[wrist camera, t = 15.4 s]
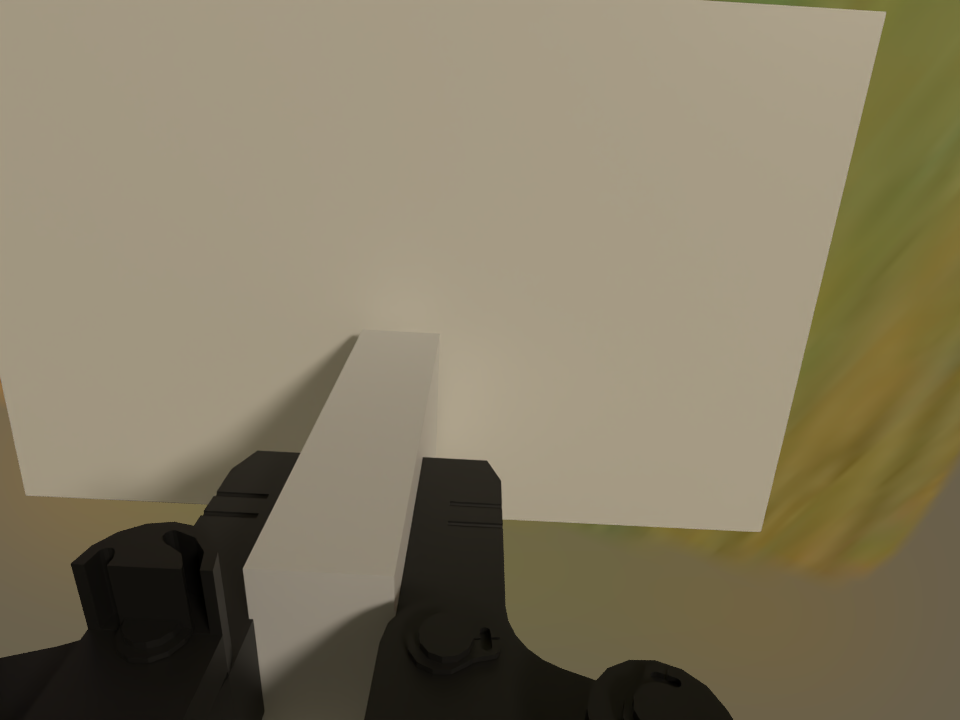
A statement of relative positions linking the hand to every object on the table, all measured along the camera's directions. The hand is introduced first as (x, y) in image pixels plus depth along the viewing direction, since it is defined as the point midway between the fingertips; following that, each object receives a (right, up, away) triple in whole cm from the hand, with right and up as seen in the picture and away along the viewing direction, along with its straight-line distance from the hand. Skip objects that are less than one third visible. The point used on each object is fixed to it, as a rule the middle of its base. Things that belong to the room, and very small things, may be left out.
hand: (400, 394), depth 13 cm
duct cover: (0, +2, 0) cm, 2 cm away
